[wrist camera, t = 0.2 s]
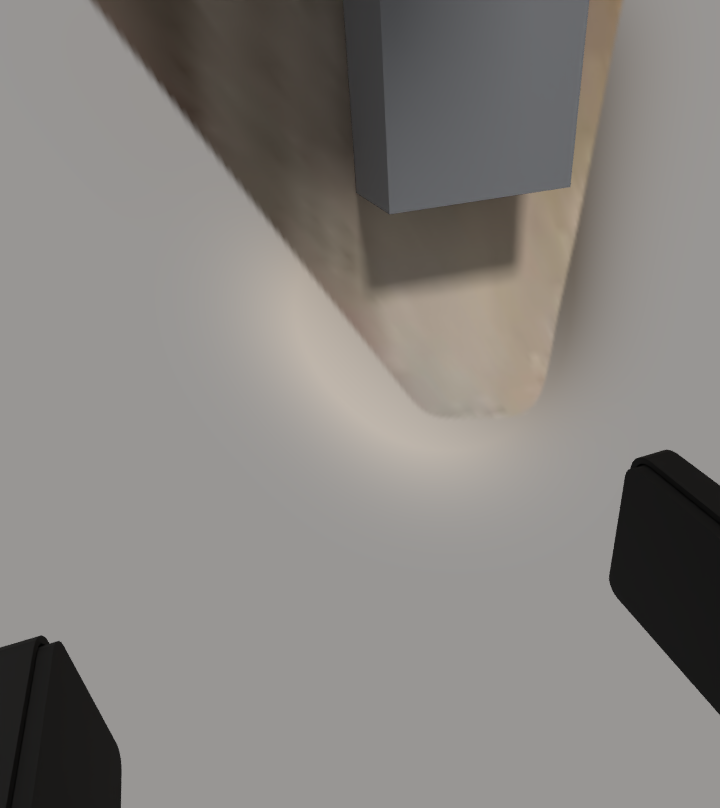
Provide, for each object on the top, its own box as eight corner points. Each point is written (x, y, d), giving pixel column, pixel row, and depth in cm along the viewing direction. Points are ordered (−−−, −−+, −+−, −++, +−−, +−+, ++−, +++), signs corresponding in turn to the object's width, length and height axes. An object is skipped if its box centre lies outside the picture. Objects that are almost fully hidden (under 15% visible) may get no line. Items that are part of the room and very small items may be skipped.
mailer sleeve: (339, -48, 32) (377, -67, 27) (530, -58, 34) (596, -76, 29) (356, 193, 38) (389, 214, 33) (516, 170, 40) (570, 186, 35)
